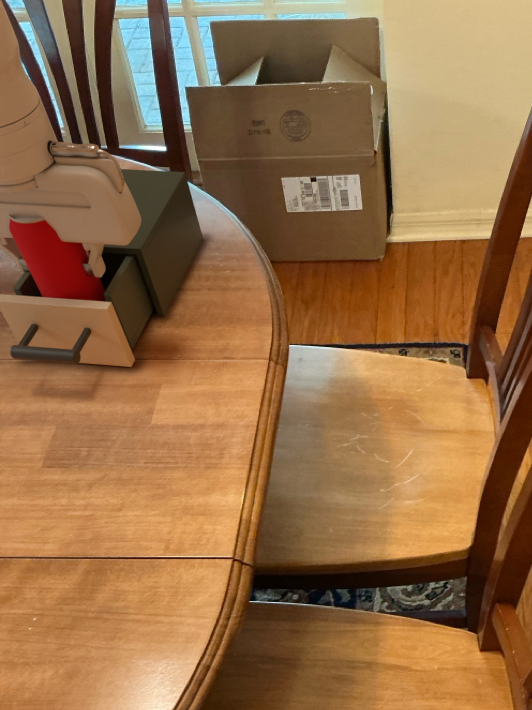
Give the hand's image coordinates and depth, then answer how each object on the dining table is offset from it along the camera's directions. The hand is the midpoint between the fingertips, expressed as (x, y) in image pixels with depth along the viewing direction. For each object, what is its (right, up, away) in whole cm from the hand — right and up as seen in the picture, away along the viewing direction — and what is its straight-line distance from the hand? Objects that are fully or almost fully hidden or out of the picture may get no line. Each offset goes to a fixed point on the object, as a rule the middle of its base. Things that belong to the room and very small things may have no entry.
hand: (63, 271), depth 81 cm
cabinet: (+2, +5, +15) cm, 16 cm away
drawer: (0, -5, +7) cm, 9 cm away
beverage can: (0, -3, +4) cm, 5 cm away
